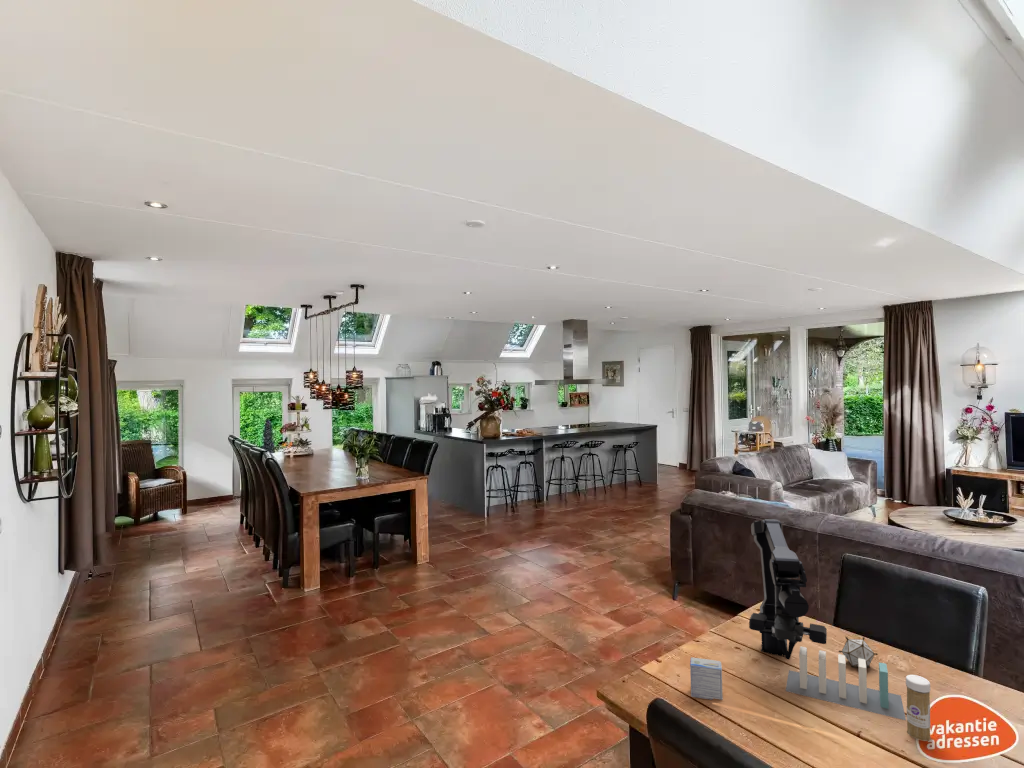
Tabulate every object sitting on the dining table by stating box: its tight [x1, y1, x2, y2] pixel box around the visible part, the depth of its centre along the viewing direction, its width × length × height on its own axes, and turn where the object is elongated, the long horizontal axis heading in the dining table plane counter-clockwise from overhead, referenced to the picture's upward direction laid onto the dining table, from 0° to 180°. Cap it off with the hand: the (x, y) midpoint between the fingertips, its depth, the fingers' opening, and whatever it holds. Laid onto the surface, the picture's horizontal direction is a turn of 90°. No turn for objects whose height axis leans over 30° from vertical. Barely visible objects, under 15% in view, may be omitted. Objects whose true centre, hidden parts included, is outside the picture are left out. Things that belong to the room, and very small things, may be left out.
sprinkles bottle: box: [905, 674, 932, 742], centre depth 125 cm, size 5×5×14 cm
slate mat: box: [785, 669, 907, 721], centre depth 143 cm, size 26×12×1 cm, turn 59°
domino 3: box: [837, 653, 847, 699], centre depth 143 cm, size 2×5×9 cm, turn 149°
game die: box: [838, 635, 879, 668], centre depth 157 cm, size 9×8×10 cm
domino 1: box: [798, 645, 808, 689], centre depth 147 cm, size 2×5×9 cm, turn 149°
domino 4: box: [857, 658, 868, 704], centre depth 140 cm, size 2×5×9 cm, turn 149°
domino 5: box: [878, 662, 889, 709], centre depth 138 cm, size 2×5×9 cm, turn 149°
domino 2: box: [818, 650, 827, 694], centre depth 145 cm, size 2×5×9 cm, turn 149°
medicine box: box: [689, 657, 724, 701], centre depth 144 cm, size 8×4×9 cm, turn 71°
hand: (787, 658), depth 149 cm, fingers closed
